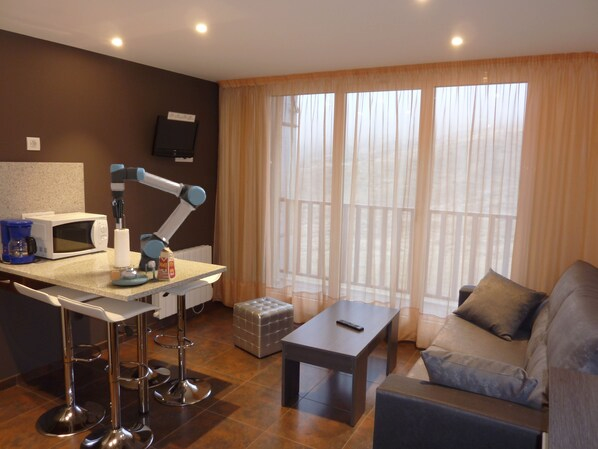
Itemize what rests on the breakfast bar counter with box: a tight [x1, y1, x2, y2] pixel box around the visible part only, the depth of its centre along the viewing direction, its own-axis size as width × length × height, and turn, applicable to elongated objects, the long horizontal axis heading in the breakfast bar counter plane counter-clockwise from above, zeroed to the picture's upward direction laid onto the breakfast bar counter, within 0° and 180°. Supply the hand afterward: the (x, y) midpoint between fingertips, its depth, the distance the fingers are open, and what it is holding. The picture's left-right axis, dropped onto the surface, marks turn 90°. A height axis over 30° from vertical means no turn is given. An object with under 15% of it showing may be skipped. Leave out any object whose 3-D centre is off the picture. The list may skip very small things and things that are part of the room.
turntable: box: [110, 270, 149, 286], centre depth 265 cm, size 20×20×6 cm
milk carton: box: [156, 246, 177, 282], centre depth 278 cm, size 9×9×20 cm
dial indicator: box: [145, 261, 160, 283], centre depth 271 cm, size 5×6×12 cm
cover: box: [121, 267, 138, 280], centre depth 265 cm, size 8×8×6 cm
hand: (118, 228), depth 279 cm, fingers closed
